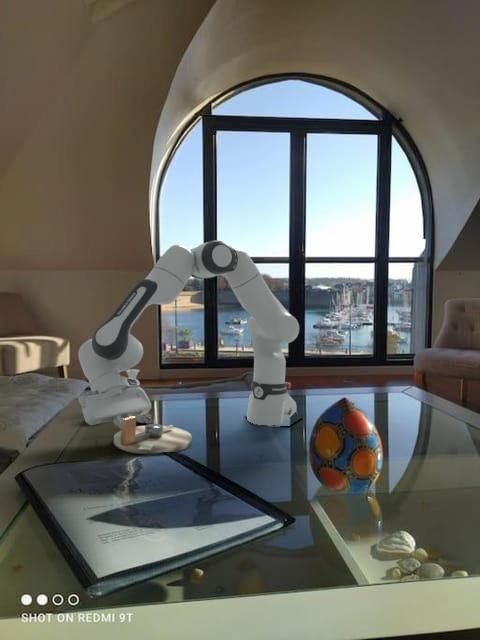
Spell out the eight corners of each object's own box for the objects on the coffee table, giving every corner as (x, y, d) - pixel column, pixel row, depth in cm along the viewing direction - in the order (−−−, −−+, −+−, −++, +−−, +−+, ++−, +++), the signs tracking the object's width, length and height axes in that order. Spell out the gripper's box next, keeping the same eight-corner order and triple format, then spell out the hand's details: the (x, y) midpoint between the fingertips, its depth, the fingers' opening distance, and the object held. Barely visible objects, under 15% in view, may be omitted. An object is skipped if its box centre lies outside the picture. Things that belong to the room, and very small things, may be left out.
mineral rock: (155, 426, 146) (155, 413, 145) (129, 427, 143) (130, 413, 143) (149, 415, 160) (150, 402, 159) (126, 415, 157) (127, 402, 157)
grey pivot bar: (165, 426, 139) (166, 404, 138) (178, 429, 136) (179, 407, 136) (115, 443, 120) (116, 417, 120) (129, 447, 118) (130, 421, 118)
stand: (157, 426, 146) (157, 421, 146) (207, 442, 132) (207, 437, 132) (97, 440, 128) (98, 434, 128) (148, 460, 115) (148, 454, 115)
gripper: (81, 387, 119) (101, 432, 113) (142, 379, 135) (162, 418, 129) (71, 400, 122) (90, 445, 116) (132, 391, 138) (151, 430, 132)
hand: (129, 430), depth 123 cm, fingers closed
